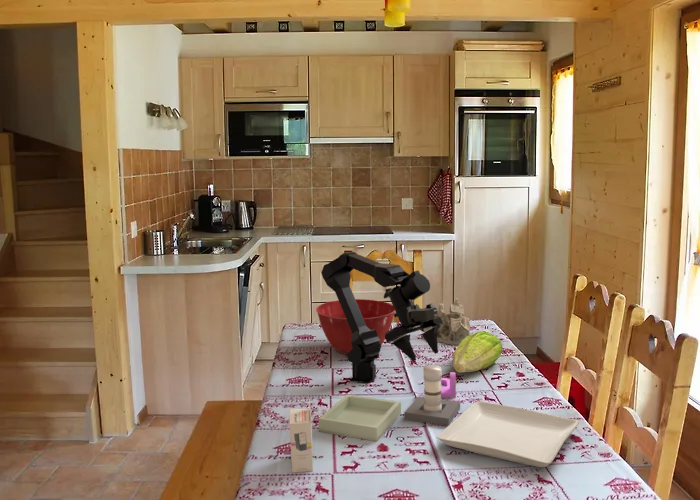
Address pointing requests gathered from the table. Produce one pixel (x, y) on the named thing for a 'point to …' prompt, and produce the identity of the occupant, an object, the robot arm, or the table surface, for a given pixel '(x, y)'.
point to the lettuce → (477, 352)
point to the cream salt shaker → (432, 388)
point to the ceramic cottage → (453, 324)
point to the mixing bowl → (338, 328)
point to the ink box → (301, 440)
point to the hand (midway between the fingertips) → (425, 356)
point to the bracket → (449, 386)
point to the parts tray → (360, 417)
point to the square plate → (509, 433)
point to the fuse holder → (443, 418)
